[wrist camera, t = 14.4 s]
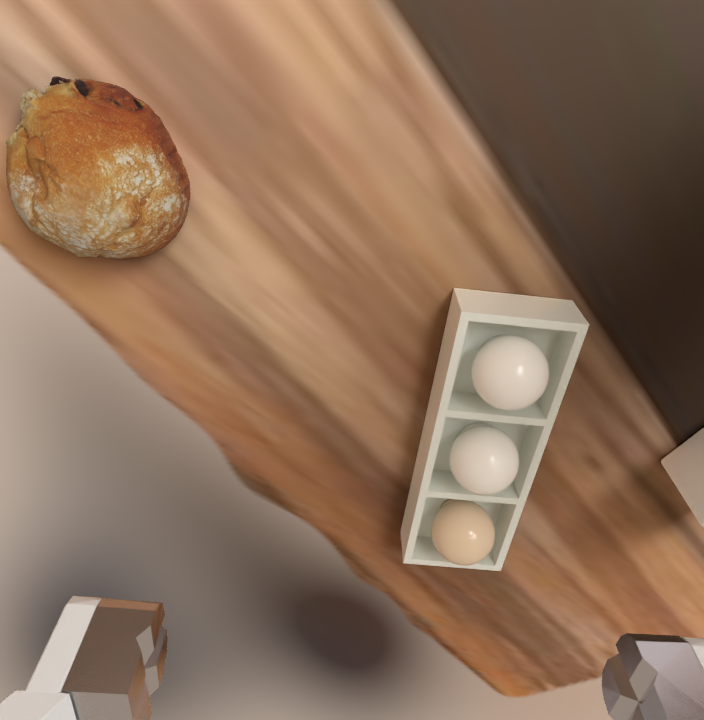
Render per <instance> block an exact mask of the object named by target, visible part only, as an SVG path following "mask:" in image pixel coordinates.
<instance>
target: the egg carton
mask: <svg viewBox="0 0 704 720" xmlns="http://www.w3.org/2000/svg"><path fill="white" fill-rule="evenodd" d="M588 327H589V323H588V322H587V320H586V319H585V318H584V316H583V315H582V313H581V312H580V310H579V309H578V307H577V306H576V305H575V303H574V302H573V300H565V299H556V298H546V297H537V296H527V295H518V294H508V293H499V292H490V291H480V290H471V289H461V288H454V289H453V294H452V298H451V303H450V307H449V312H448V316H447V321H446V325H445V330H444V335H443V339H442V344H441V348H440V353H439V357H438V362H437V367H436V371H435V376H434V380H433V385H432V389H431V394H430V398H429V403H428V408H427V412H426V417H425V421H424V426H423V430H422V435H421V439H420V444H419V449H418V453H417V458H416V462H415V467H414V471H413V476H412V481H411V485H410V490H409V494H408V499H407V503H406V508H405V512H404V517H403V522H402V526H401V543H402V556H403V563H407V564H419V565H431V566H444V567H456V568H469V569H481V570H494V571H501V569H502V566H503V563H504V560H505V558H506V555H507V552H508V549H509V546H510V544H511V541H512V538H513V535H514V533H515V530H516V527H517V524H518V521H519V519H520V516H521V513H522V510H523V508H524V505H525V502H526V499H527V497H528V494H529V491H530V488H531V485H532V483H533V480H534V477H535V474H536V472H537V469H538V466H539V463H540V460H541V458H542V455H543V452H544V449H545V447H546V444H547V441H548V438H549V436H550V433H551V430H552V427H553V424H554V422H555V419H556V416H557V413H558V411H559V408H560V405H561V402H562V399H563V397H564V394H565V391H566V388H567V386H568V383H569V380H570V377H571V375H572V372H573V369H574V366H575V363H576V361H577V358H578V355H579V352H580V350H581V347H582V344H583V341H584V338H585V336H586V333H587V330H588ZM498 335H516V336H521V337H524V338H526V339H529V340H530V341H532V342H534V343H535V344H536V345H537V346H538V347H539V348H540V349H541V350H542V352H543V353H544V355H545V357H546V359H547V362H548V365H549V381H548V384H547V387H546V389H545V391H544V393H543V394H542V396H541V397H540V398H539V399H538V400H537V401H536V402H535V403H533V404H532V405H530V406H528V407H526V408H523V409H520V410H513V411H509V410H501V409H498V408H495V407H493V406H491V405H489V404H488V403H486V402H485V401H484V400H483V399H482V398H481V397H480V396H479V394H478V393H477V392H476V390H475V388H474V385H473V382H472V376H471V369H472V363H473V360H474V358H475V356H476V354H477V352H478V351H479V349H480V348H481V347H482V346H483V345H484V344H485V343H486V342H487V341H488V340H489V339H491V338H493V337H495V336H498ZM479 422H482V423H487V424H490V425H491V426H493V427H495V428H498V429H500V430H501V431H503V432H505V433H506V434H507V435H508V436H509V437H510V438H511V439H512V441H513V442H514V443H515V445H516V448H517V450H518V454H519V469H518V473H517V475H516V477H515V479H514V481H513V482H512V483H511V484H510V485H509V486H508V487H507V488H506V489H504V490H503V491H501V492H499V493H496V494H492V495H479V494H475V493H472V492H470V491H468V490H466V489H465V488H463V487H462V486H461V485H460V484H459V483H458V482H457V480H456V479H455V478H454V476H453V474H452V472H451V469H450V464H449V454H450V450H451V447H452V444H453V442H454V441H455V439H456V438H457V437H458V436H459V434H460V432H461V431H462V430H463V429H464V428H465V427H466V426H468V425H470V424H473V423H479ZM447 499H458V500H469V501H474V502H475V503H476V504H478V505H480V506H481V507H482V508H484V509H485V510H486V512H487V513H488V514H489V515H490V517H491V519H492V521H493V524H494V527H495V541H494V545H493V547H492V550H491V551H490V553H489V554H488V555H487V556H486V557H485V558H484V559H483V560H482V561H480V562H478V563H476V564H473V565H466V566H465V565H457V564H454V563H451V562H449V561H448V560H446V559H445V558H443V557H442V556H441V555H440V554H439V552H438V551H437V549H436V548H435V546H434V543H433V541H432V536H431V526H432V522H433V519H434V517H435V515H436V513H437V512H438V511H439V509H440V507H441V505H442V504H443V502H444V501H446V500H447Z"/></svg>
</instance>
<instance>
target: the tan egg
mask: <svg viewBox="0 0 704 720" xmlns="http://www.w3.org/2000/svg"><path fill="white" fill-rule="evenodd" d="M431 536H432V541H433V543H434V546H435V548H436V549H437V551H438V552H439V554H440V555H441V556H442V557H443V558H445V559H446V560H448V561H449V562H451V563H454V564H457V565H465V566H466V565H473V564H476V563H478V562H480V561H482V560H483V559H484V558H485V557H486V556H487V555H488V554H489V553H490V551H491V550H492V547H493V545H494V541H495V527H494V524H493V521H492V519H491V517H490V515H489V514H488V513H487V512H486V510H485V509H484V508H482V507H481V506H480V505H478V504H476V503H475V502H474V501H469V500H458V499H447V500H446V501H444V502H443V504H442V505H441V507H440V509H439V511H438V512H437V513H436V515H435V517H434V519H433V522H432V526H431Z"/></svg>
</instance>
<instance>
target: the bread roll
mask: <svg viewBox="0 0 704 720" xmlns="http://www.w3.org/2000/svg"><path fill="white" fill-rule="evenodd" d="M19 105H20V108H21V111H22V116H21V123H19V124H18V125H17V129H16V131H17V132H15V133H13V134H12V135H11V136H10V137H9V139H8V140H7V142H6V144H7V167H6V175H7V183H8V190H9V193H10V197H11V201H12V204H13V206H14V208H15V210H16V211H17V213H18V215H19V217H20V218H21V220H22V222H23V223H24V224H25V226H27V227H28V228H29V229H30V230H32V231H33V232H35V233H36V234H37V235H39V236H40V237H42V238H43V239H45V240H47V241H49V242H50V243H52V244H55V245H57V246H59V247H60V248H62V249H64V250H66V251H68V252H71V253H73V254H74V255H76V256H77V257H98V256H99V255H100V256H101V257H103V258H118V259H125V258H137V257H142V256H146V255H150V254H152V253H155V252H156V251H158V250H160V249H162V248H163V247H165V246H166V245H167V244H168V243H169V242H170V241H171V240H172V239H173V238H174V237H175V236H176V235H177V233H178V232H179V230H180V229H181V227H182V225H183V223H184V221H185V218H186V215H187V212H188V207H189V200H190V182H189V178H188V174H187V172H186V169H185V167H184V165H183V163H182V159H181V157H180V155H179V154H178V153H177V149H176V146H175V144H174V143H173V141H172V139H171V137H170V135H169V133H168V131H167V129H166V128H165V126H164V124H163V123H162V121H161V119H160V118H159V117H158V116H157V115H156V114H155V113H154V111H153V110H152V109H151V108H150V106H149V105H147V104H146V103H144V102H143V101H141V100H139V99H137V98H136V97H134V96H133V95H132V94H130V93H129V92H128V91H127V90H125V89H124V88H121V87H119V86H117V85H112V84H109V83H104V82H97V81H93V80H88V79H75V80H73V81H72V80H71V79H64V78H61V77H53V78H52V81H51V83H50V86H47V87H46V93H45V94H44V93H42V92H41V91H39V90H37V89H33V88H30V89H29V90H28V91H27V92H25V93H24V94H22V97H21V101H20V104H19Z"/></svg>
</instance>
